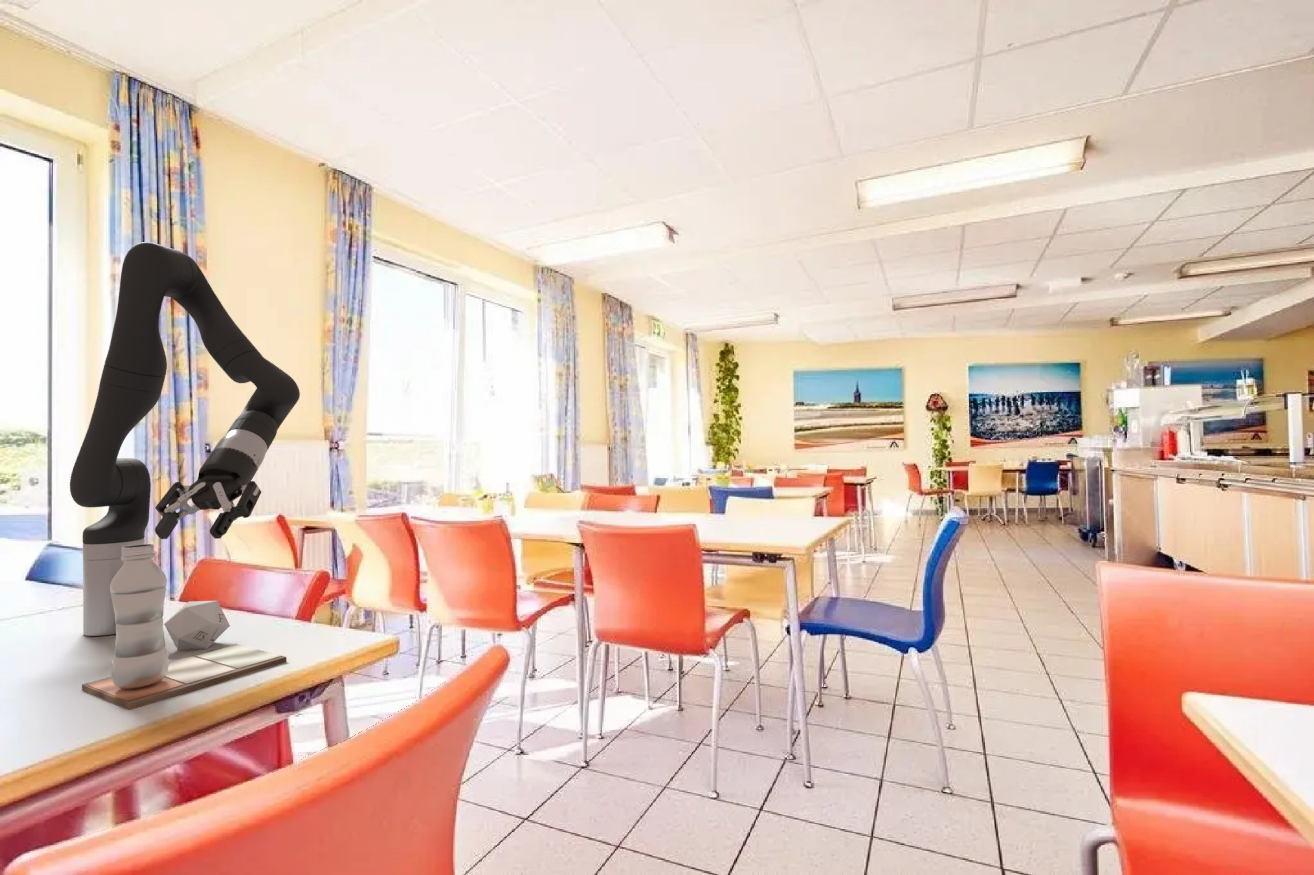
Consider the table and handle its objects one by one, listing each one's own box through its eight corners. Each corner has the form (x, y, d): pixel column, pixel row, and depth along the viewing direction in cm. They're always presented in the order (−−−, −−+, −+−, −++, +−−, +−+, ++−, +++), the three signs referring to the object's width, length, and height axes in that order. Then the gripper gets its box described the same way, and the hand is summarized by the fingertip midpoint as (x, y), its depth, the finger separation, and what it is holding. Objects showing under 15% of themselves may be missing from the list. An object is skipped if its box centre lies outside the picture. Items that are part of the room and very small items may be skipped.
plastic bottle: (155, 674, 96) (152, 541, 96) (179, 681, 93) (175, 543, 93) (102, 690, 90) (98, 548, 90) (125, 697, 87) (122, 550, 87)
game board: (81, 689, 93) (81, 683, 93) (236, 648, 111) (236, 643, 111) (129, 709, 85) (129, 702, 85) (286, 661, 104) (286, 656, 104)
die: (179, 662, 106) (221, 610, 110) (142, 634, 108) (184, 584, 111) (210, 663, 114) (249, 615, 117) (175, 638, 116) (214, 591, 119)
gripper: (183, 446, 110) (128, 521, 98) (266, 445, 110) (221, 520, 98) (205, 475, 115) (155, 550, 103) (284, 475, 115) (243, 549, 103)
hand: (187, 535), depth 101 cm, fingers open, 8 cm apart
